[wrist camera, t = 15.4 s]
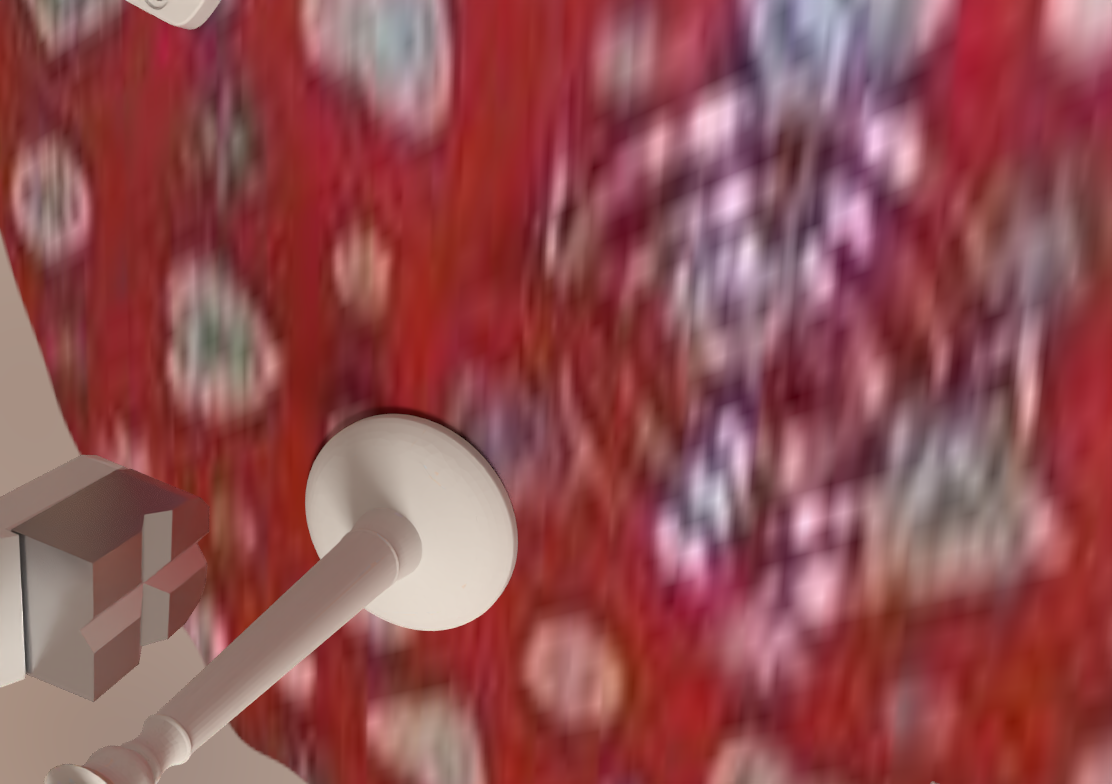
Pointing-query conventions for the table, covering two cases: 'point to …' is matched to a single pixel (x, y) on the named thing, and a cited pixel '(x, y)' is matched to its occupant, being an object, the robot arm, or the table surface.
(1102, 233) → the table surface
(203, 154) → the table surface
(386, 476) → the candlestick
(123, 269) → the table surface
